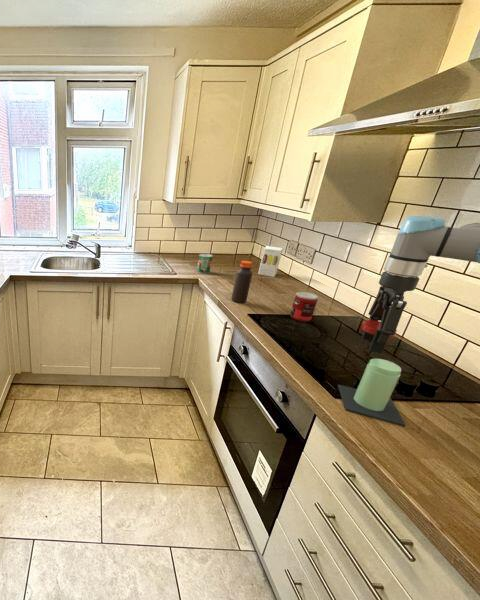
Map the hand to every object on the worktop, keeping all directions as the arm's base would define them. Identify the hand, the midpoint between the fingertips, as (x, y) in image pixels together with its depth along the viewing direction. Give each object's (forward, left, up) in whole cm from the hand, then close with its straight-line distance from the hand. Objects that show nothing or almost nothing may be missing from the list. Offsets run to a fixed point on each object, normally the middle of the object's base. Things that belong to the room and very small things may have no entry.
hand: (371, 345), depth 96 cm
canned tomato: (+62, -92, -11) cm, 111 cm away
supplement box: (+26, -107, -11) cm, 111 cm away
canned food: (+13, -41, -11) cm, 44 cm away
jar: (+1, +16, -10) cm, 19 cm away
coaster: (+1, +16, -11) cm, 19 cm away
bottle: (+38, -49, -11) cm, 63 cm away
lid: (0, 0, +6) cm, 6 cm away
